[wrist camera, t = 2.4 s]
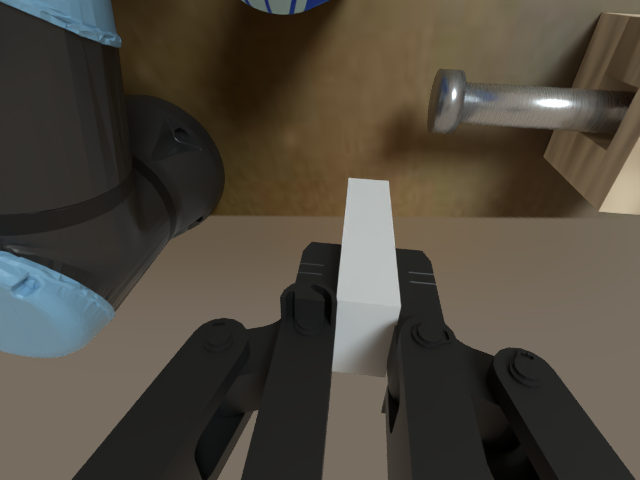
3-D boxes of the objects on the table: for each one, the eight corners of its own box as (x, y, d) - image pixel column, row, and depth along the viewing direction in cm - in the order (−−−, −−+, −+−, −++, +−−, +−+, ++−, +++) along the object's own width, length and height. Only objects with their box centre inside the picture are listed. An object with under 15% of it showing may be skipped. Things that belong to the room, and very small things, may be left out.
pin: (424, 122, 31) (432, 141, 28) (436, 63, 29) (446, 76, 25) (615, 134, 30) (649, 155, 27) (645, 75, 28) (688, 89, 24)
